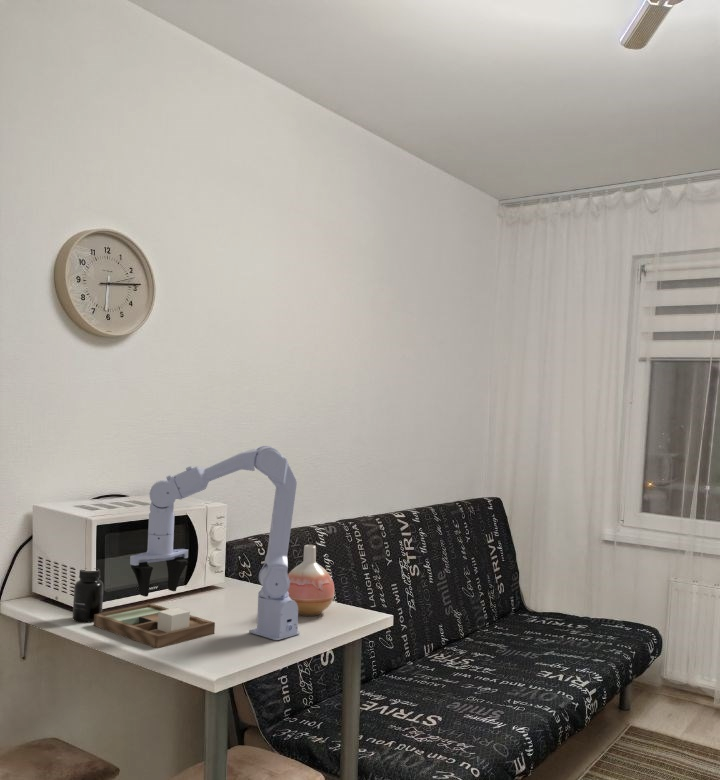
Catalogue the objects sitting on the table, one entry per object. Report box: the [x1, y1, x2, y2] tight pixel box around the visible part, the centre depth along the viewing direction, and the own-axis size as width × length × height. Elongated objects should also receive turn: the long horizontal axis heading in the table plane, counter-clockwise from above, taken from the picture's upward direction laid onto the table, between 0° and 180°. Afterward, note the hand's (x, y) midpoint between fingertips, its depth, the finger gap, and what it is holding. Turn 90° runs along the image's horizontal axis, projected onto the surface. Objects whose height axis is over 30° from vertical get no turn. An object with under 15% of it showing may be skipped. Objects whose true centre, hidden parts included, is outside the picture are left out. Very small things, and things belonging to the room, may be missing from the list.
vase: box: [287, 544, 335, 617], centre depth 203 cm, size 14×14×18 cm
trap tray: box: [93, 602, 216, 649], centre depth 183 cm, size 25×16×3 cm, turn 51°
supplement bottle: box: [72, 568, 104, 623], centre depth 190 cm, size 7×7×12 cm
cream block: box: [158, 607, 191, 632], centre depth 177 cm, size 5×5×4 cm
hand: (158, 593), depth 177 cm, fingers open, 7 cm apart
